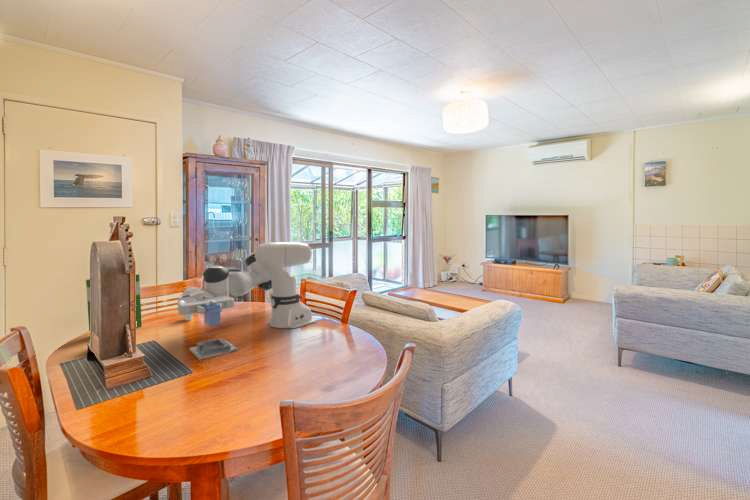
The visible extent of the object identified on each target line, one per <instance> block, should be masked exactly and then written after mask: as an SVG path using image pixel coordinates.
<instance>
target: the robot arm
mask: <svg viewBox="0 0 750 500" xmlns="http://www.w3.org/2000/svg"><path fill="white" fill-rule="evenodd" d="M312 255H313V253H312V249H311V246H310V245H309V244H308V243H305V242H299V241H287V242H286V241H280V242H279V241H277V242H273V241H271V242H263V243H259V244H258V246H256V248H255V251H254V252H252V253H250V254H249V255H247V257H246V258H245V261H244V262H245V265H246V266H247V268H248V270H249V271H243V272H242V271H241V269H240V268H237V267H223V266H219V265H214V266H209V267H207V268H206V269H205V270H204V272H203V273H202V274H203V280H204V289H202V288H199V287H195V286H192V287H187V288H186V289H184V291H183V292H182V294H181V296H179V297H177V314H178V315H179V316H185V315H187V314H192V315H194V314H200V315H203V314H204V313H206V312H207V308H206V307H204V303H209V302H211V301H210V300H214V301H217V303H218V304H220V309H221V311H222V310H224V309H226V310H227V309H231V308H234V307H235V299H234V298H233V297H230V294H231V295H232V296H236V297H240V296H245V295H246V294H248V293H249V292H251V291H252V290H253V289H254V288H256V287H257V290H262V291H267V292H268V291H271V295H270V296H271V297H270V304H271V313H270V317H269V322H268V326H269V327H272V328H277V329H296V328H300V327H303V326H306V325H311V324H313V323H314V324H315V323H317V318H316V317H315V316H313V315H312V310H311V308H310V307H309V306H307V305H306V304H305V303H303V302H302V301H300V300H304V295H303V294H298V293H297V279H296V276H294V274H292V273H289V272H288V271H285V270H286V269H287V268H291V267H296V266H300V265H305V264H308V263H309V262H310V260H311V259H312Z"/></svg>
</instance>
